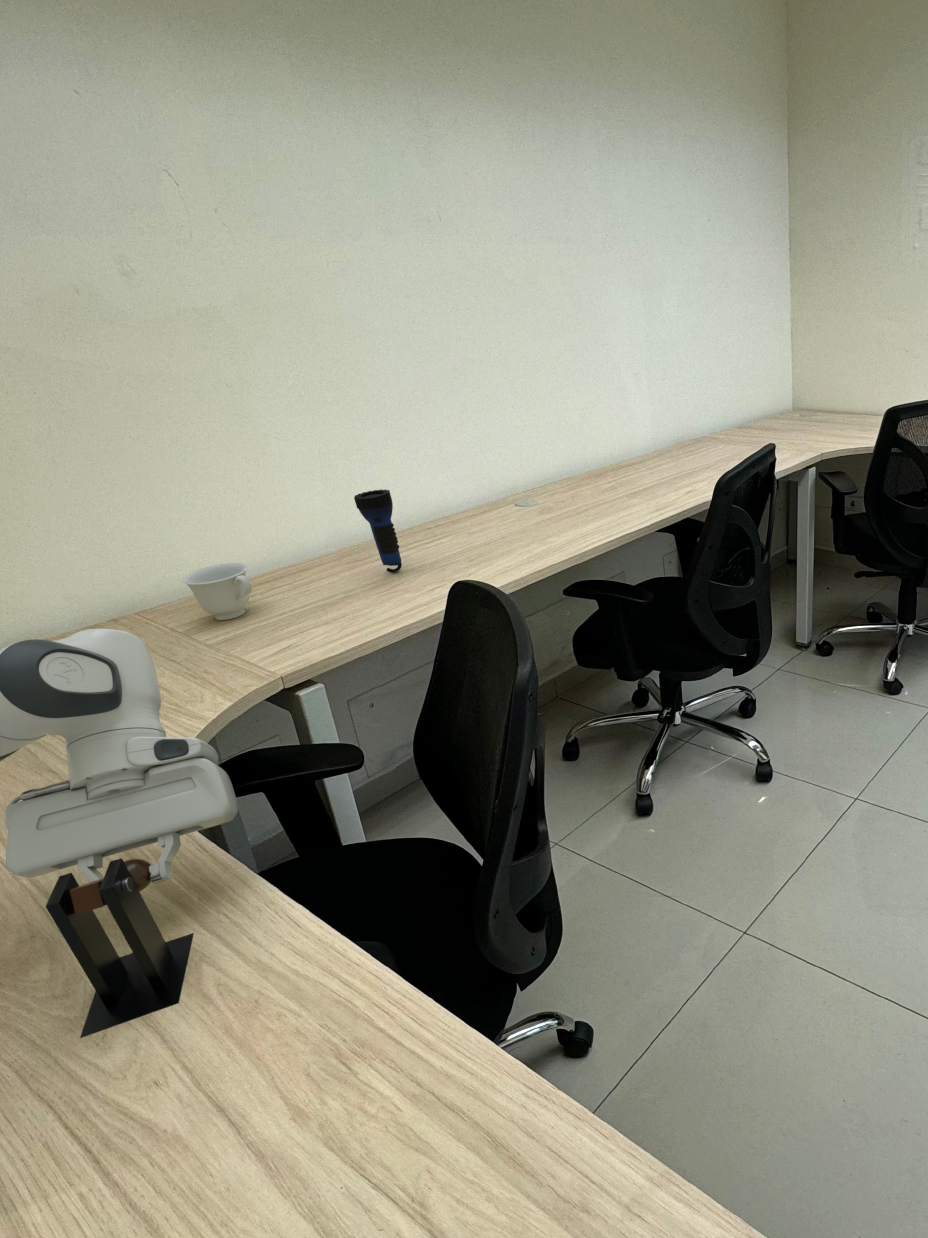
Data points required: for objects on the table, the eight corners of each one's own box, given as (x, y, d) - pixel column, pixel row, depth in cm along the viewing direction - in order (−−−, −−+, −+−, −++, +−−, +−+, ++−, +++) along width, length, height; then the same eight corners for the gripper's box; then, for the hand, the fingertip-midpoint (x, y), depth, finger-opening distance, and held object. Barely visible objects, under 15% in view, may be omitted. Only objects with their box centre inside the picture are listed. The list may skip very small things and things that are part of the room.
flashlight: (369, 575, 187) (346, 495, 178) (398, 564, 193) (377, 487, 184) (387, 580, 182) (365, 499, 174) (416, 570, 188) (396, 491, 180)
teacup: (236, 630, 160) (219, 586, 156) (185, 623, 165) (168, 580, 160) (283, 607, 170) (269, 565, 166) (234, 601, 175) (219, 561, 171)
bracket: (109, 969, 81) (48, 863, 75) (197, 940, 84) (146, 835, 78) (84, 1046, 73) (13, 934, 66) (183, 1011, 76) (123, 900, 69)
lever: (123, 895, 83) (115, 862, 83) (162, 883, 84) (154, 851, 84) (67, 924, 71) (58, 886, 71) (114, 910, 72) (105, 873, 72)
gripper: (-14, 790, 79) (-5, 924, 75) (214, 734, 87) (233, 853, 83) (21, 801, 85) (30, 926, 81) (232, 748, 92) (250, 860, 88)
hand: (135, 888), depth 82 cm, fingers closed on lever, 3 cm apart
